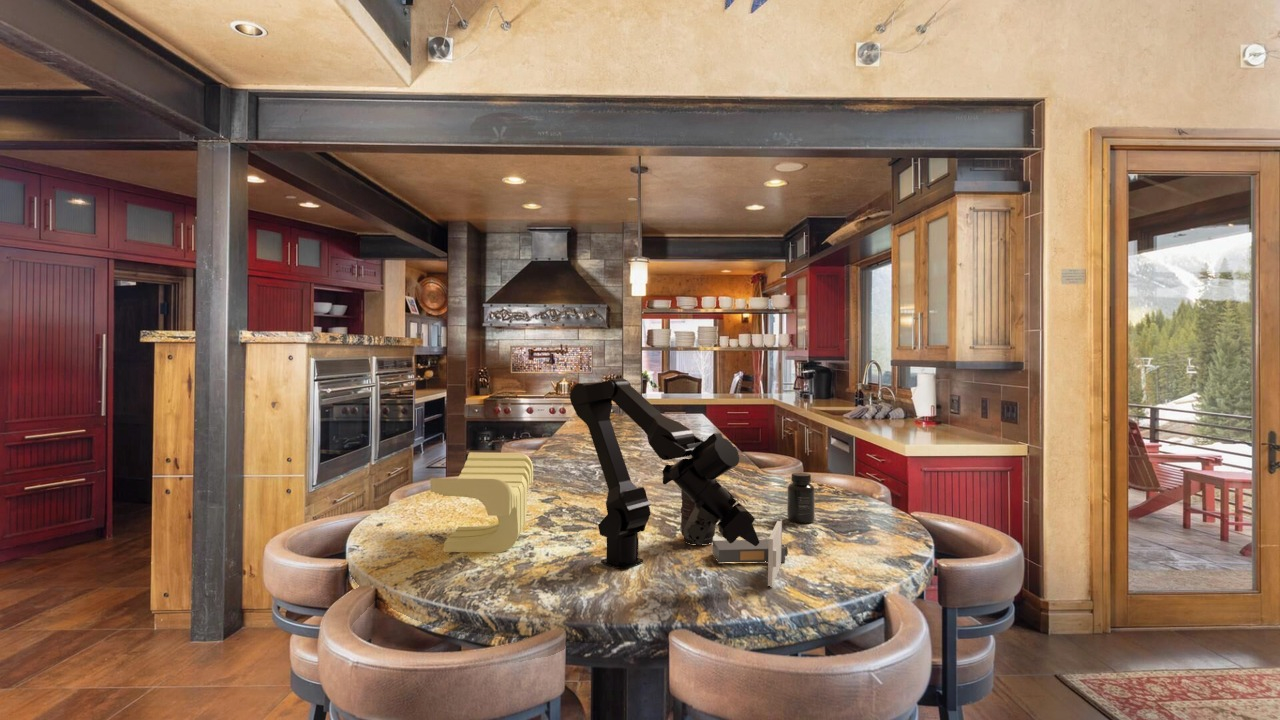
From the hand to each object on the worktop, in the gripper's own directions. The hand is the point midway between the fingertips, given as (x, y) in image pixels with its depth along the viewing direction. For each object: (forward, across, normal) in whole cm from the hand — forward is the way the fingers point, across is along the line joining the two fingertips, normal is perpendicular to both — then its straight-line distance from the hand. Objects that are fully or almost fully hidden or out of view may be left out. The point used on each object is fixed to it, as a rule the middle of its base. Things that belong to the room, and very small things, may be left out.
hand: (757, 544), depth 119 cm
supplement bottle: (+22, -42, +11) cm, 48 cm away
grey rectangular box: (+7, -14, -4) cm, 16 cm away
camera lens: (+1, -26, -10) cm, 28 cm away
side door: (+9, -4, -2) cm, 10 cm away
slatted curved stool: (-33, -29, -44) cm, 62 cm away
